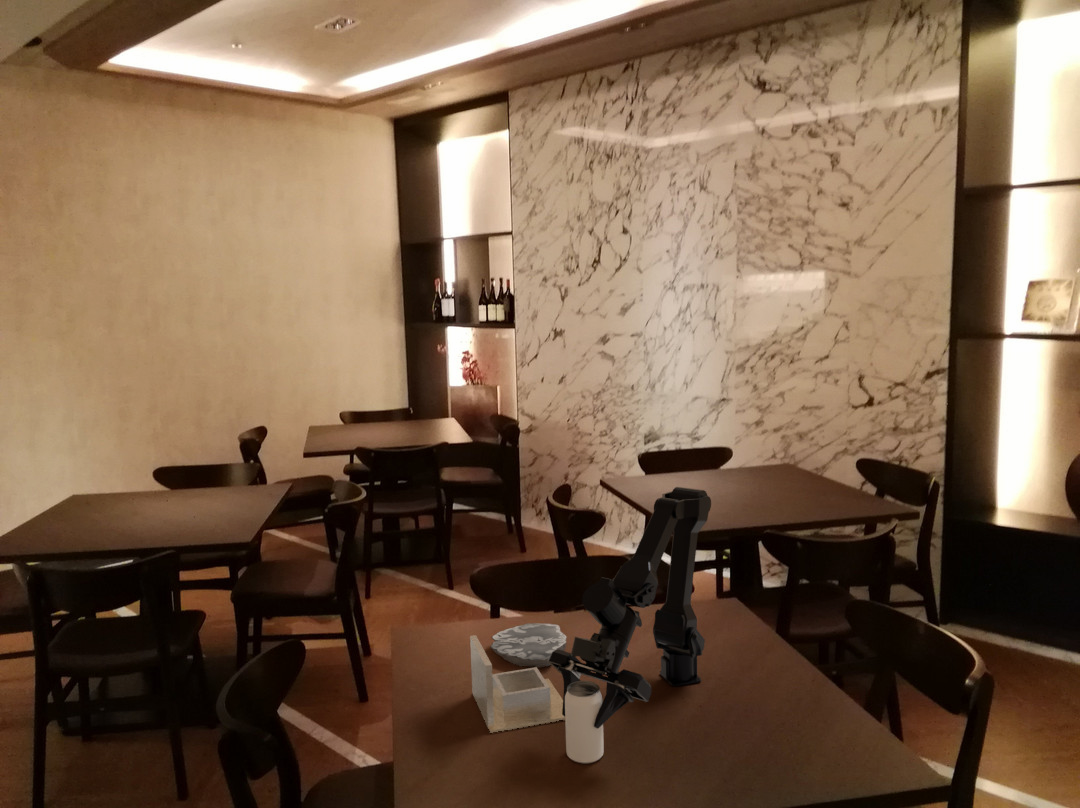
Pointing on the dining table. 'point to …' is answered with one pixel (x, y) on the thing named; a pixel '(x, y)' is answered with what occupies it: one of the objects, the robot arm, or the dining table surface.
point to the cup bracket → (512, 694)
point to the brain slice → (529, 644)
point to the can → (583, 722)
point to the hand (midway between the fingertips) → (579, 721)
